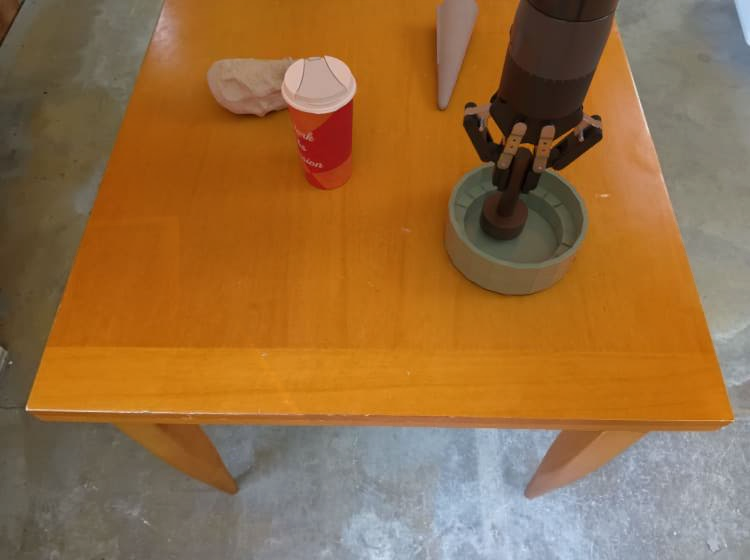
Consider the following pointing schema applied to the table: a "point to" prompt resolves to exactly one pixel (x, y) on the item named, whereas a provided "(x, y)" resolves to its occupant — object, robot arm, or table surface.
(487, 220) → the brown capped cylinder
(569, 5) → the robot arm
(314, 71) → the coffee cup
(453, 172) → the table surface
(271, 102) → the pale crumpled lump
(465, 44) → the long tapered cone
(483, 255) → the bowl
